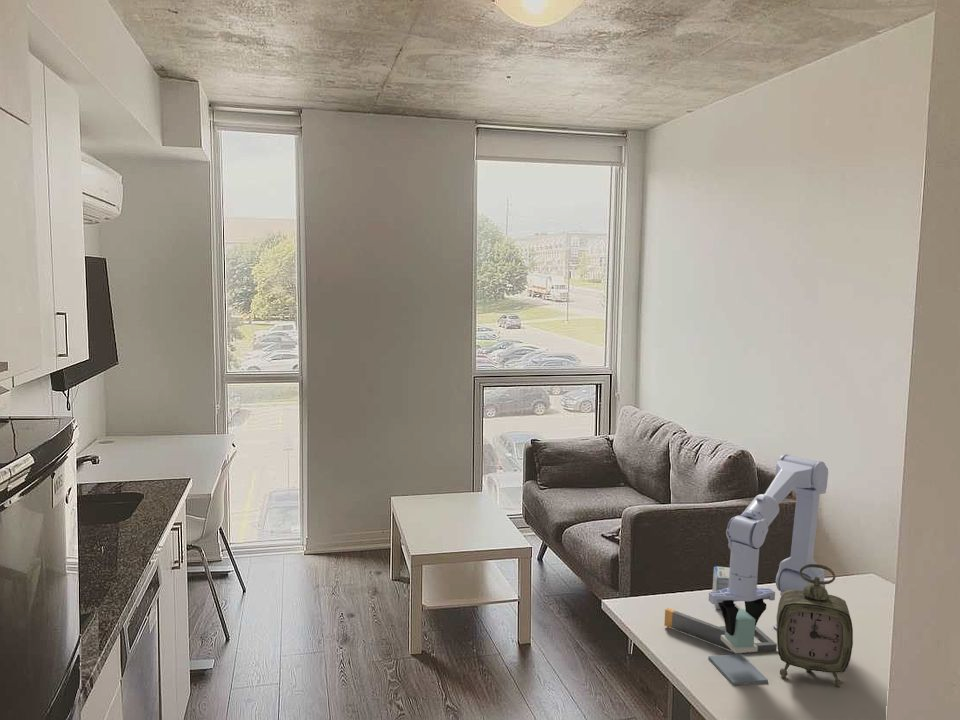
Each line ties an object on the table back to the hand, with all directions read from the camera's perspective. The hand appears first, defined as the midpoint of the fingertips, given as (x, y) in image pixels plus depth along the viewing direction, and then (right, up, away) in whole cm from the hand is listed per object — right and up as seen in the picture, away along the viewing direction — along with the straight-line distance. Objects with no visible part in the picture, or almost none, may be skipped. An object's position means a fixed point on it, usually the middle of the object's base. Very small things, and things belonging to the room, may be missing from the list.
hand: (739, 632), depth 163 cm
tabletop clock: (+15, -9, 0) cm, 18 cm away
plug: (0, -3, 0) cm, 3 cm away
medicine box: (+7, -5, +35) cm, 36 cm away
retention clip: (-4, -7, +14) cm, 16 cm away
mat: (0, -9, +1) cm, 9 cm away
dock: (+7, -7, +14) cm, 17 cm away
